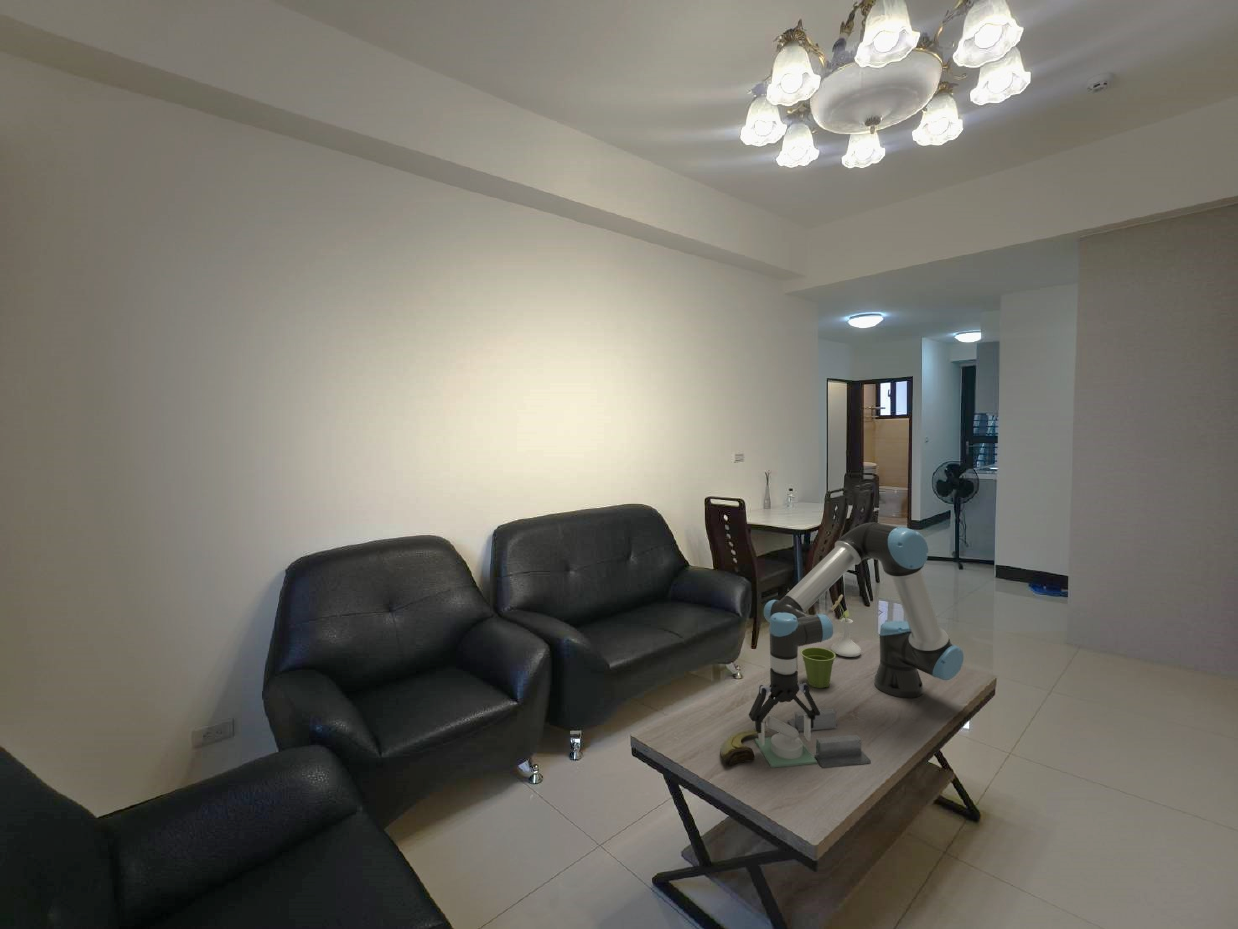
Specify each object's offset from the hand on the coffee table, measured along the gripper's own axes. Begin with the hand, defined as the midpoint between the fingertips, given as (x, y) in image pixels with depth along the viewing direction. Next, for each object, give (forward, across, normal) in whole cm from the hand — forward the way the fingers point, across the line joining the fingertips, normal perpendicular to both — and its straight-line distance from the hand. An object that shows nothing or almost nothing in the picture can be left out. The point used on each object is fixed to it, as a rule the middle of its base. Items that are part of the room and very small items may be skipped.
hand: (784, 740), depth 154 cm
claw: (+3, +11, -2) cm, 12 cm away
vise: (+3, -14, -3) cm, 15 cm away
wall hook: (+3, 0, 0) cm, 3 cm away
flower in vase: (+3, -50, -59) cm, 77 cm away
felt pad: (+3, 0, 0) cm, 3 cm away
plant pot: (+3, -28, -37) cm, 47 cm away
